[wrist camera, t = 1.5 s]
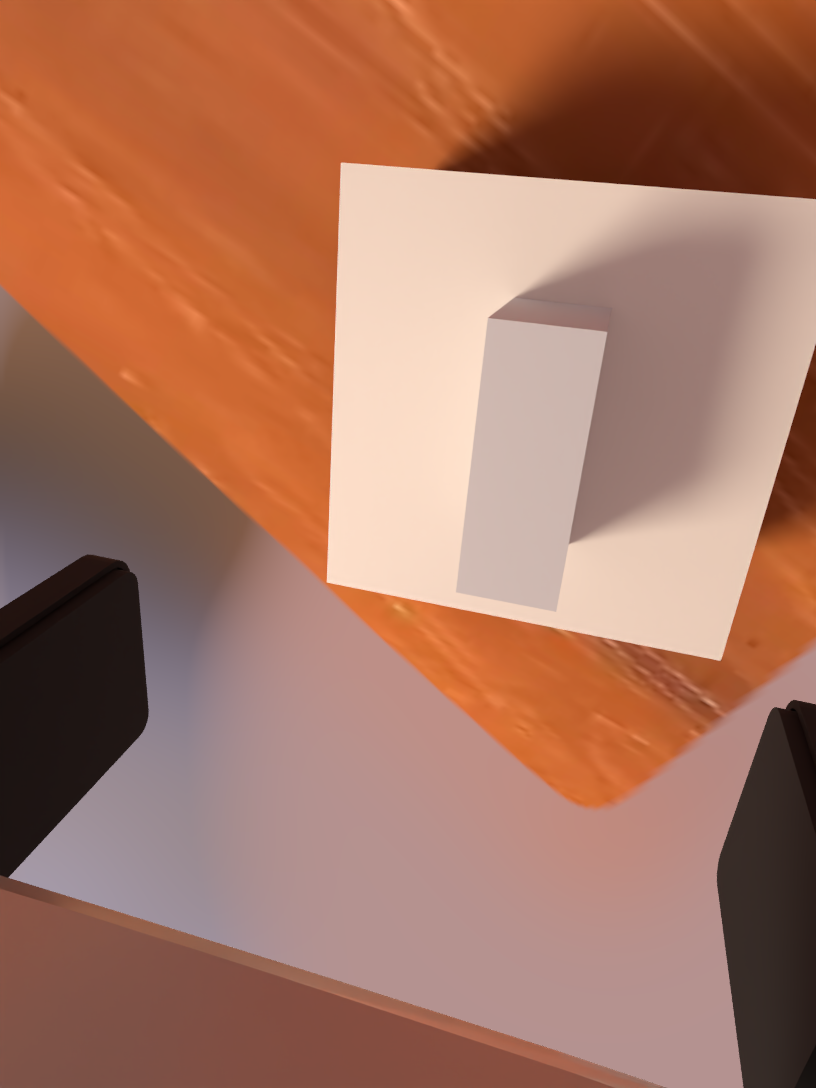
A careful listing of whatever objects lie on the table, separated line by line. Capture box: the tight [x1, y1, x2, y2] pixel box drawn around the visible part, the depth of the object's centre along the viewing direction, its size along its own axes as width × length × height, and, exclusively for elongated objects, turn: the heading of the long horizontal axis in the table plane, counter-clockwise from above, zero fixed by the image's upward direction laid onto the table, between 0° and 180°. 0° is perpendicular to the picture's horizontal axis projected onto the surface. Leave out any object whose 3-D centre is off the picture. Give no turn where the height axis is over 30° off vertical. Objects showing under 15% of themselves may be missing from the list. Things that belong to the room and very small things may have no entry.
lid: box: [327, 163, 816, 661], centre depth 23 cm, size 15×15×6 cm
